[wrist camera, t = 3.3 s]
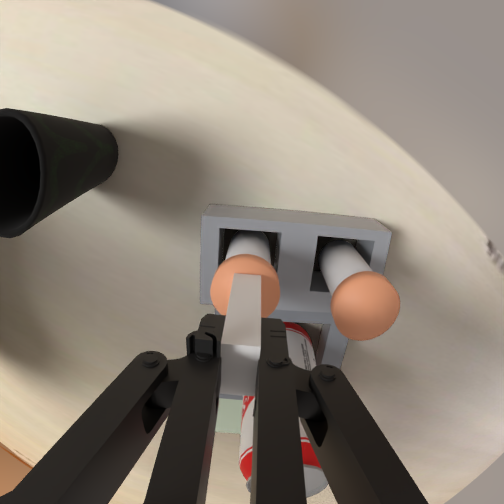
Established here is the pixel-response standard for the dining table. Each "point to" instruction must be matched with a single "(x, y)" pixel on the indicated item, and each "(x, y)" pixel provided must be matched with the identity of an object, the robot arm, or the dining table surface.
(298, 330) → the beer can
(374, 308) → the ball
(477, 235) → the dining table surface
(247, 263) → the plunger inner
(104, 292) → the dining table surface
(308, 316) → the grey rack with holes
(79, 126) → the cup
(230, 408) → the coaster
